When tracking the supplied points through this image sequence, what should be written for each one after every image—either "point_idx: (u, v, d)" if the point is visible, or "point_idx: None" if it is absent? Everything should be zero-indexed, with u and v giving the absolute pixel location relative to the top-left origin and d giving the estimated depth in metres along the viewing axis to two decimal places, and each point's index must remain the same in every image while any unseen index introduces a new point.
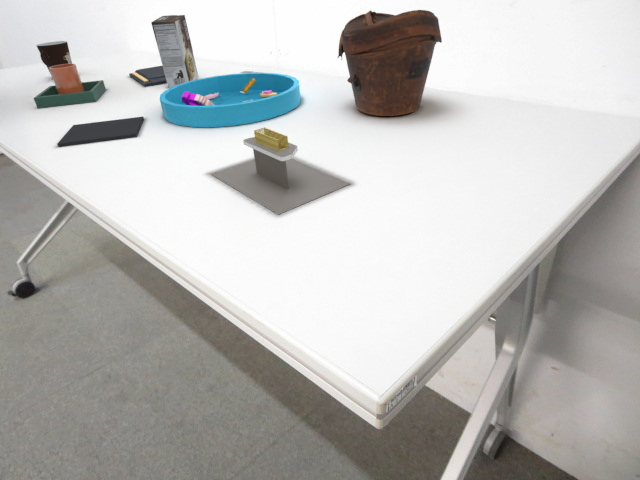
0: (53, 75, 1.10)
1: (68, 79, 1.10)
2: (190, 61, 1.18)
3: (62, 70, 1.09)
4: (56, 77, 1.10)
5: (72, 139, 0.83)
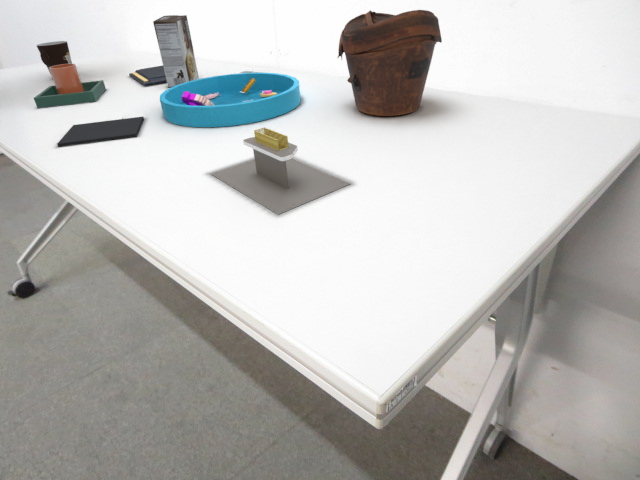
0: (53, 75, 1.10)
1: (68, 79, 1.10)
2: (191, 62, 1.18)
3: (62, 70, 1.09)
4: (56, 77, 1.10)
5: (72, 139, 0.83)
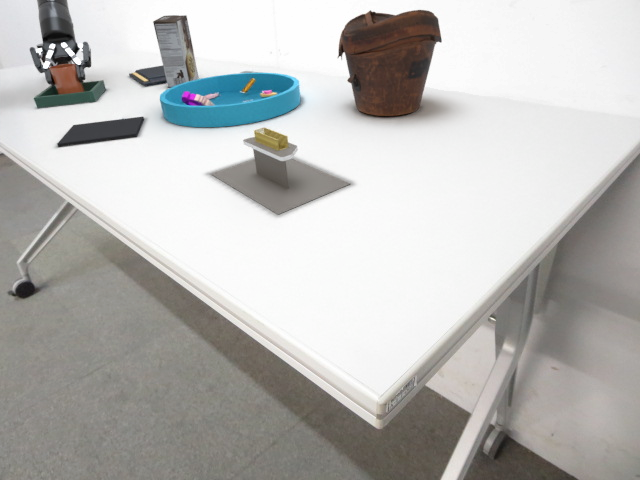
0: (53, 75, 1.10)
1: (68, 79, 1.10)
2: (190, 62, 1.18)
3: (62, 70, 1.09)
4: (56, 77, 1.10)
5: (72, 139, 0.83)
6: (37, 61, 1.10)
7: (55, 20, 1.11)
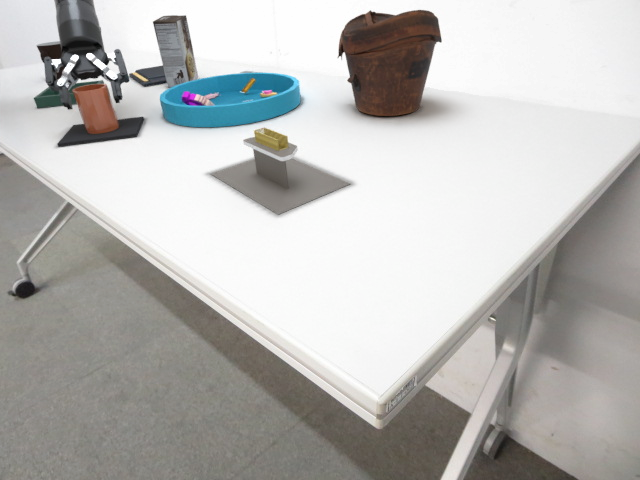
0: (78, 100, 0.82)
1: (98, 105, 0.83)
2: (190, 62, 1.18)
3: (90, 94, 0.81)
4: (82, 103, 0.82)
5: (72, 139, 0.83)
6: (50, 76, 0.82)
7: (79, 23, 0.84)
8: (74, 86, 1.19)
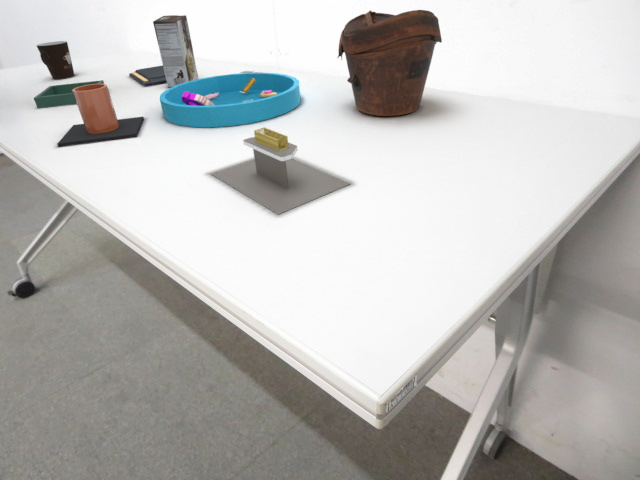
0: (78, 100, 0.82)
1: (98, 105, 0.83)
2: (190, 62, 1.18)
3: (90, 94, 0.81)
4: (82, 103, 0.82)
5: (72, 139, 0.83)
6: None
7: None
8: (74, 86, 1.19)
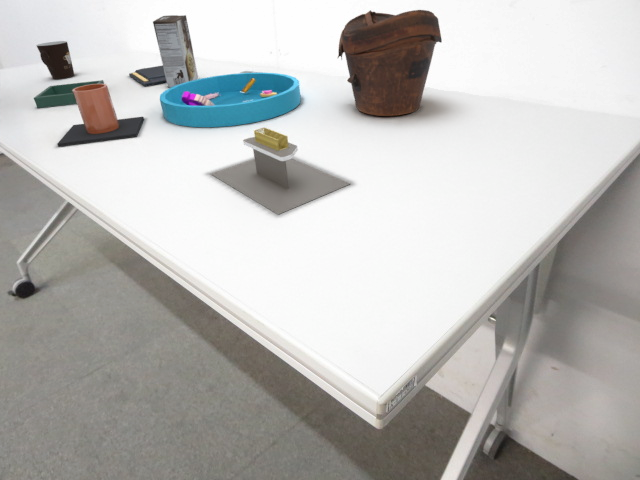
0: (78, 100, 0.82)
1: (98, 105, 0.83)
2: (190, 62, 1.18)
3: (90, 94, 0.81)
4: (82, 103, 0.82)
5: (72, 139, 0.83)
6: None
7: None
8: (74, 86, 1.19)
